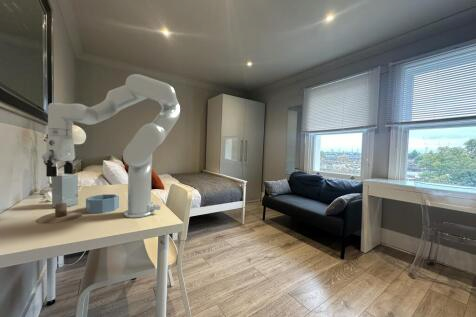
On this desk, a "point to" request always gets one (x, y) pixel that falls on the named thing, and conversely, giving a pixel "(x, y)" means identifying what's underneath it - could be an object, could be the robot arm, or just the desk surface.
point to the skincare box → (65, 189)
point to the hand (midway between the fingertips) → (60, 175)
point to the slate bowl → (102, 203)
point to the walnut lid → (60, 215)
